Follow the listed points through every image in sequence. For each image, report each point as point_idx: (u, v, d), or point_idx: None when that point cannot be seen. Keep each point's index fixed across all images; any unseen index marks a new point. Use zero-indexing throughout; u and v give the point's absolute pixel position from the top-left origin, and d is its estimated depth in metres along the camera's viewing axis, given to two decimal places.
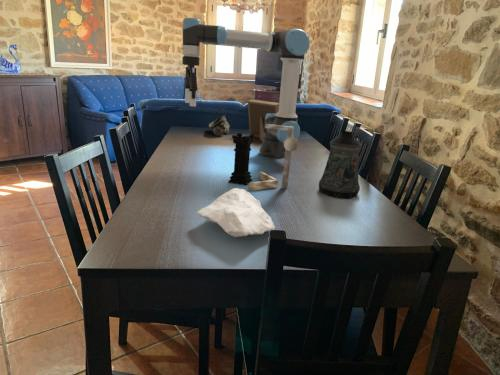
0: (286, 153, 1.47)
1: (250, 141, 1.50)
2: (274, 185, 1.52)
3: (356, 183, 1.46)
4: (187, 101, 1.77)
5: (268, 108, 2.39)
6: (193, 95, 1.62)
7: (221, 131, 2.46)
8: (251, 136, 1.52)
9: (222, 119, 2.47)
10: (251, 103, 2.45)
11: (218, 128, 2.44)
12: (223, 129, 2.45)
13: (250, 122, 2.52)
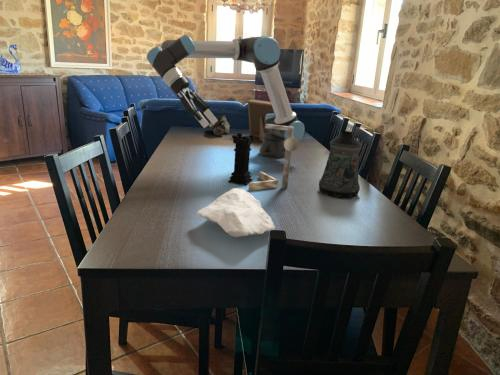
0: (286, 153, 1.47)
1: (250, 141, 1.50)
2: (274, 185, 1.52)
3: (356, 183, 1.46)
4: (213, 122, 1.57)
5: (268, 108, 2.39)
6: (197, 117, 1.46)
7: (221, 131, 2.46)
8: (251, 136, 1.52)
9: (222, 119, 2.47)
10: (251, 103, 2.45)
11: (218, 128, 2.44)
12: (223, 129, 2.45)
13: (250, 122, 2.52)
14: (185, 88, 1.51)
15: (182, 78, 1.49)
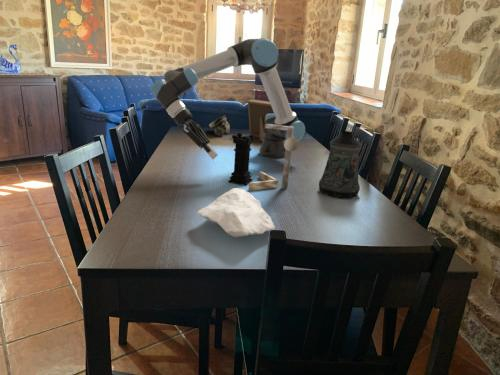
0: (286, 153, 1.47)
1: (250, 141, 1.50)
2: (274, 185, 1.52)
3: (356, 183, 1.46)
4: None
5: (268, 108, 2.39)
6: (206, 149, 1.54)
7: (222, 131, 2.46)
8: (251, 136, 1.52)
9: (223, 119, 2.47)
10: (251, 103, 2.45)
11: (219, 128, 2.44)
12: (224, 129, 2.45)
13: (250, 122, 2.52)
14: (188, 120, 1.54)
15: (185, 110, 1.52)
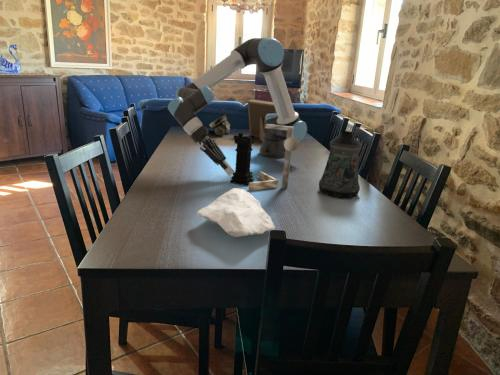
0: (286, 153, 1.47)
1: (251, 141, 1.50)
2: (274, 185, 1.52)
3: (356, 183, 1.46)
4: None
5: (268, 108, 2.39)
6: (223, 166, 1.55)
7: (223, 131, 2.46)
8: (252, 136, 1.52)
9: (223, 119, 2.47)
10: (251, 103, 2.45)
11: (219, 128, 2.44)
12: (225, 129, 2.45)
13: (250, 122, 2.52)
14: (205, 137, 1.55)
15: (202, 128, 1.53)
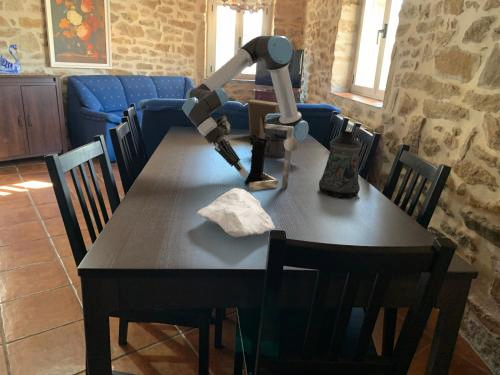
0: (286, 153, 1.47)
1: (267, 142, 1.50)
2: (274, 185, 1.52)
3: (356, 183, 1.46)
4: None
5: (268, 108, 2.39)
6: (237, 167, 1.53)
7: (223, 131, 2.46)
8: (267, 137, 1.51)
9: (224, 119, 2.47)
10: (251, 103, 2.45)
11: (220, 128, 2.44)
12: (225, 129, 2.45)
13: (250, 122, 2.52)
14: (219, 138, 1.54)
15: (217, 128, 1.51)
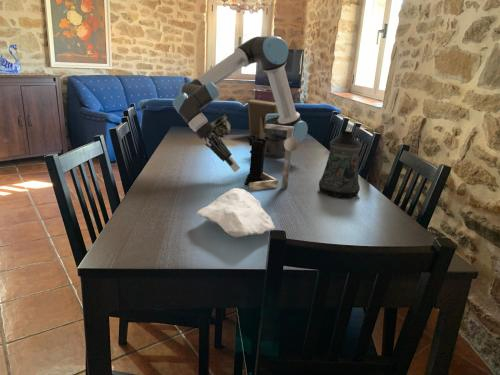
0: (286, 153, 1.47)
1: (266, 143, 1.49)
2: (274, 185, 1.52)
3: (356, 183, 1.46)
4: None
5: (268, 108, 2.39)
6: (228, 162, 1.54)
7: (223, 131, 2.46)
8: (266, 138, 1.51)
9: (224, 119, 2.48)
10: (251, 103, 2.45)
11: (220, 128, 2.44)
12: (225, 129, 2.45)
13: (250, 122, 2.52)
14: (210, 133, 1.54)
15: (207, 124, 1.52)
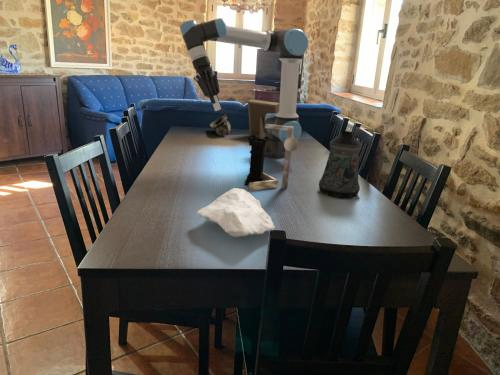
0: (286, 153, 1.47)
1: (266, 143, 1.49)
2: (274, 185, 1.52)
3: (356, 183, 1.46)
4: None
5: (268, 108, 2.39)
6: (211, 100, 1.64)
7: (224, 131, 2.46)
8: (266, 138, 1.51)
9: (224, 119, 2.48)
10: (251, 103, 2.45)
11: (221, 128, 2.44)
12: (226, 129, 2.45)
13: (250, 122, 2.52)
14: (204, 67, 1.62)
15: (202, 58, 1.58)
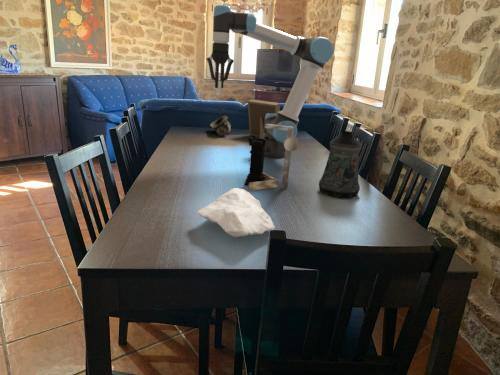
0: (286, 153, 1.47)
1: (266, 143, 1.49)
2: (274, 185, 1.52)
3: (356, 183, 1.46)
4: None
5: (268, 108, 2.39)
6: (215, 84, 1.75)
7: (225, 131, 2.46)
8: (266, 138, 1.51)
9: (225, 119, 2.48)
10: (251, 103, 2.45)
11: (221, 128, 2.44)
12: (227, 129, 2.45)
13: (250, 122, 2.52)
14: (221, 53, 1.70)
15: (219, 45, 1.67)
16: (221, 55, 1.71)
